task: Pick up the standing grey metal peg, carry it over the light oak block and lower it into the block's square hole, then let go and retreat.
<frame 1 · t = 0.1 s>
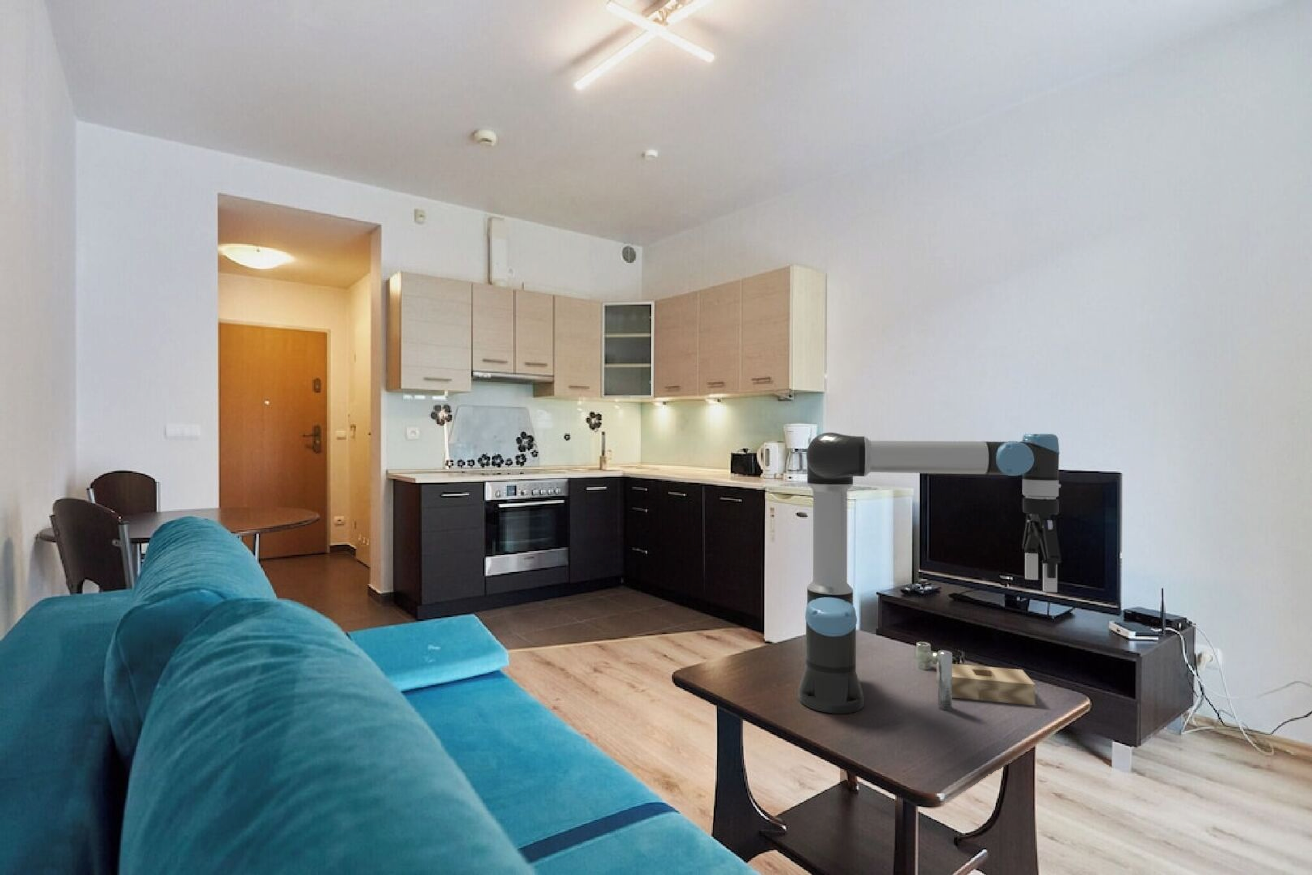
hand: (1040, 585, 153), 28 cm above the table, fingers open, 13 cm apart
peg: (944, 707, 149), on the table
valve: (938, 671, 173), on the table
hole block: (983, 692, 158), on the table
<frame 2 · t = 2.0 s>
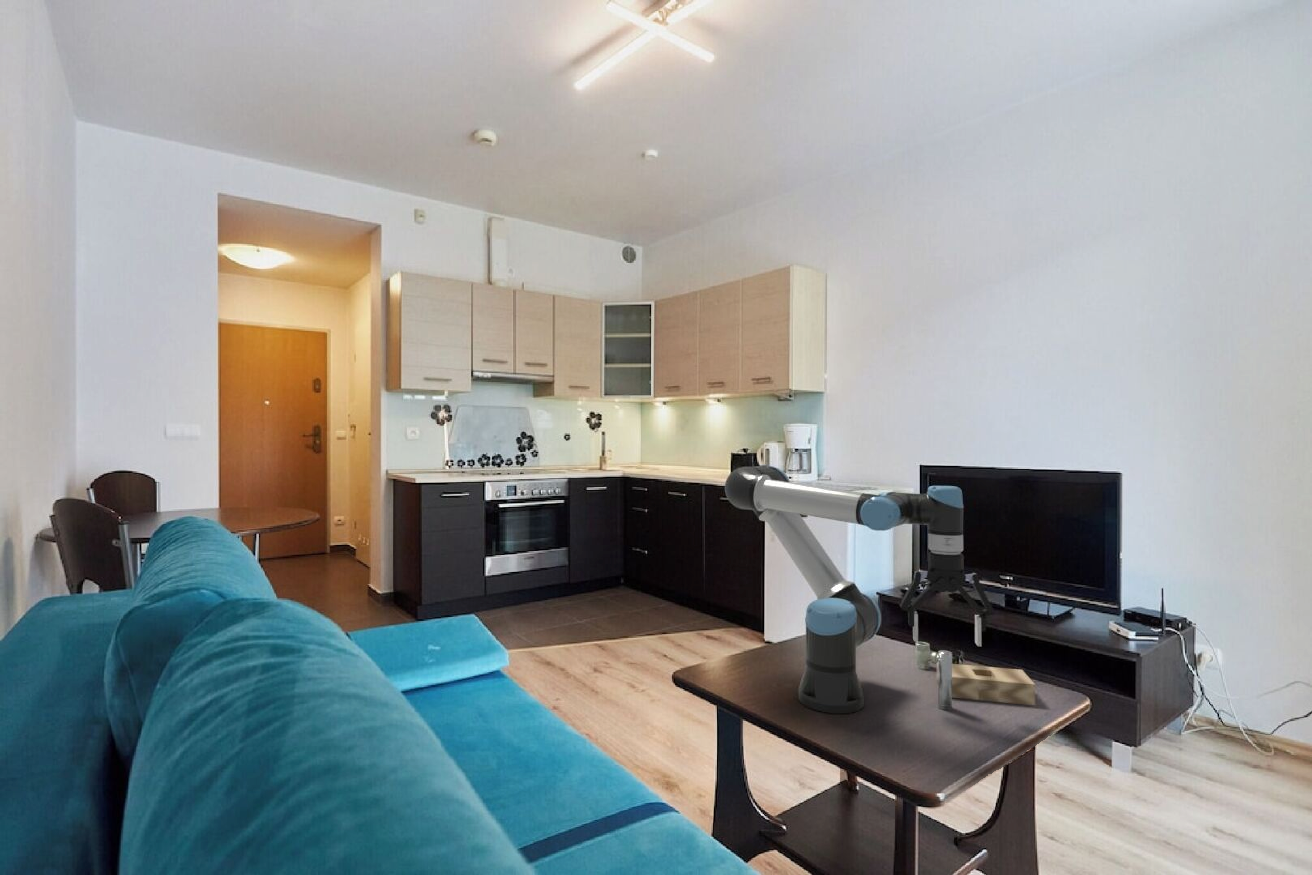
hand: (946, 642, 149), 15 cm above the table, fingers open, 13 cm apart
nothing on the table moved.
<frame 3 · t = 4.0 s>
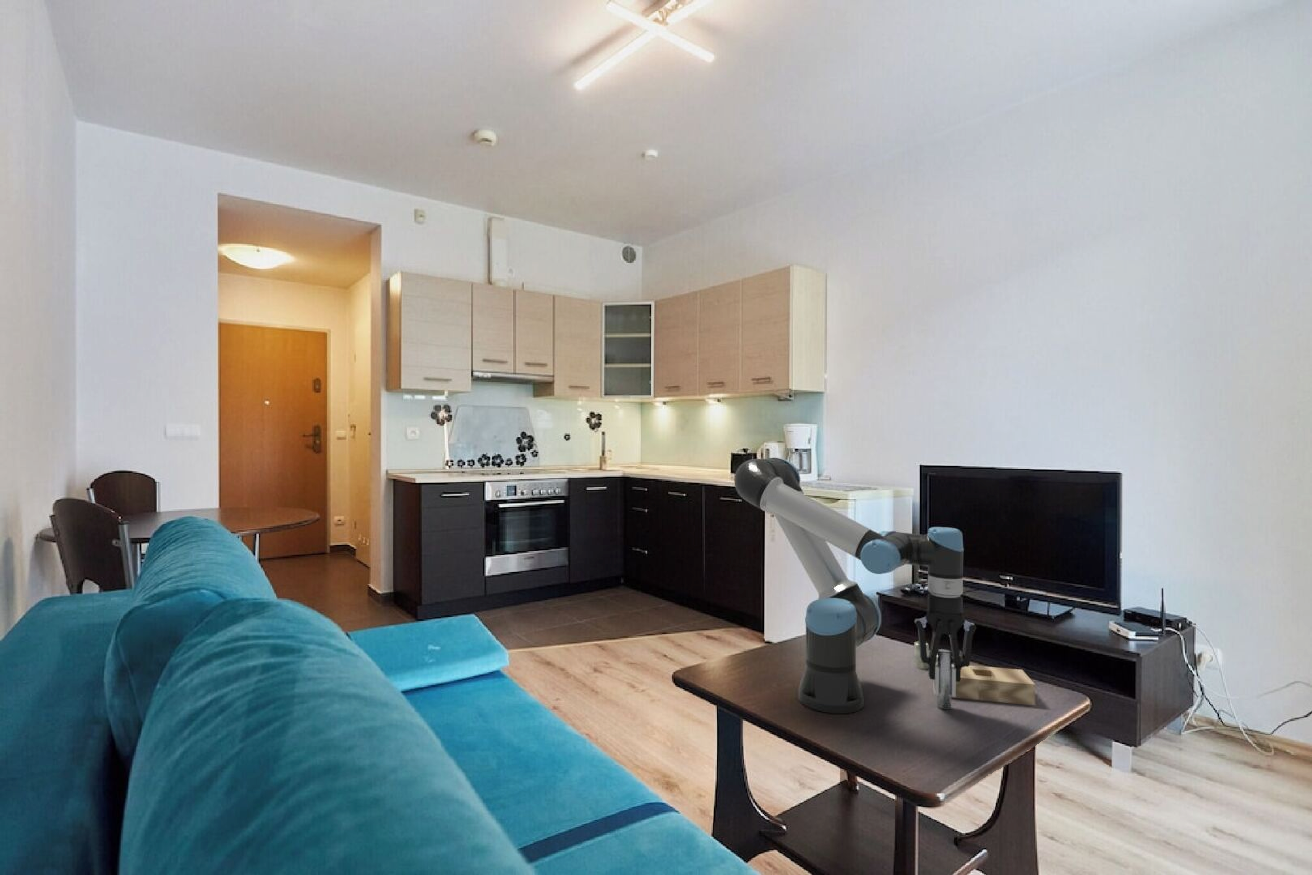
hand: (944, 693, 149), 3 cm above the table, fingers closed on peg, 3 cm apart
peg: (944, 706, 149), on the table, touching gripper
everything else where it was.
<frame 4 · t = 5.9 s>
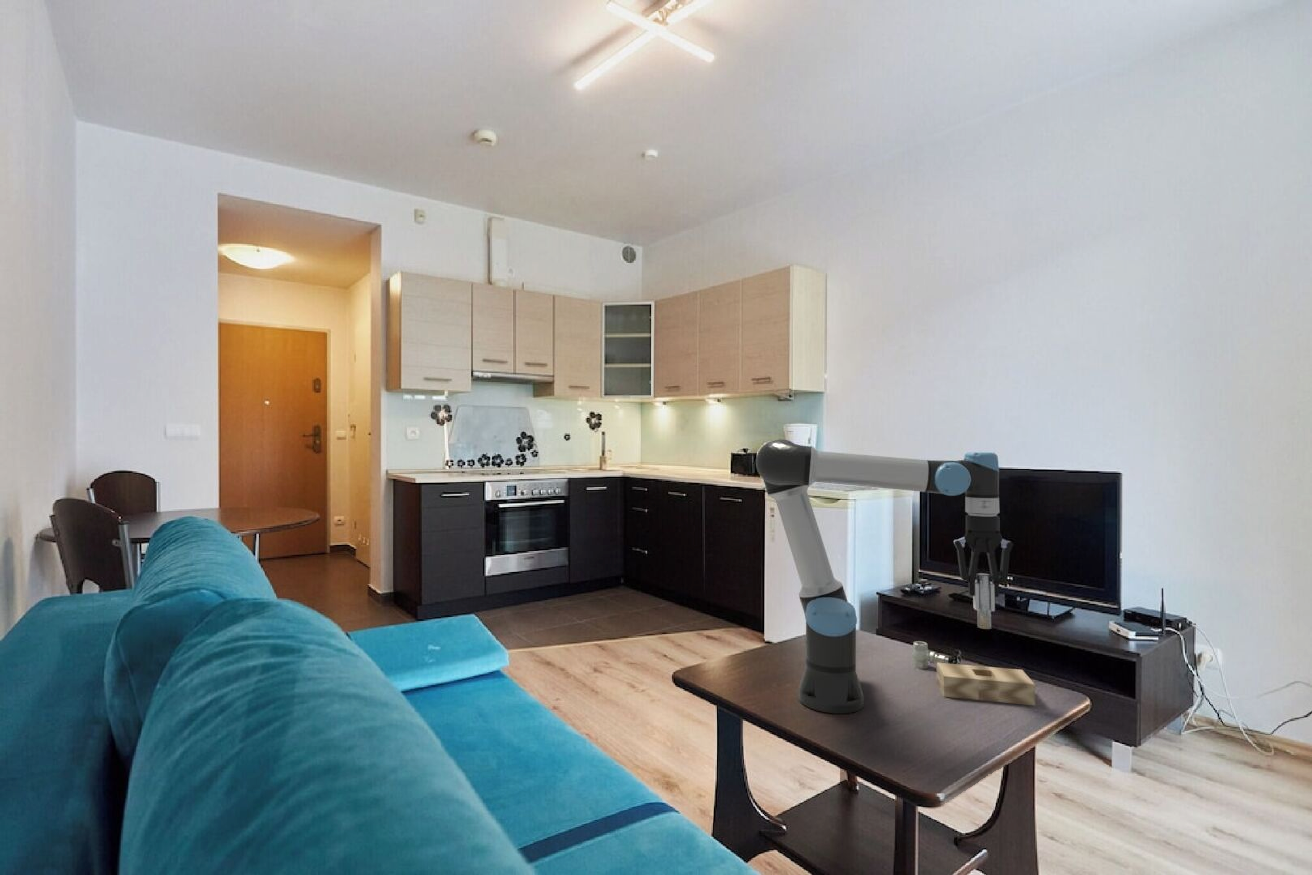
hand: (983, 609, 157), 21 cm above the table, fingers closed on peg, 3 cm apart
peg: (984, 627, 157), point 17 cm above the table, touching gripper
everything else where it was.
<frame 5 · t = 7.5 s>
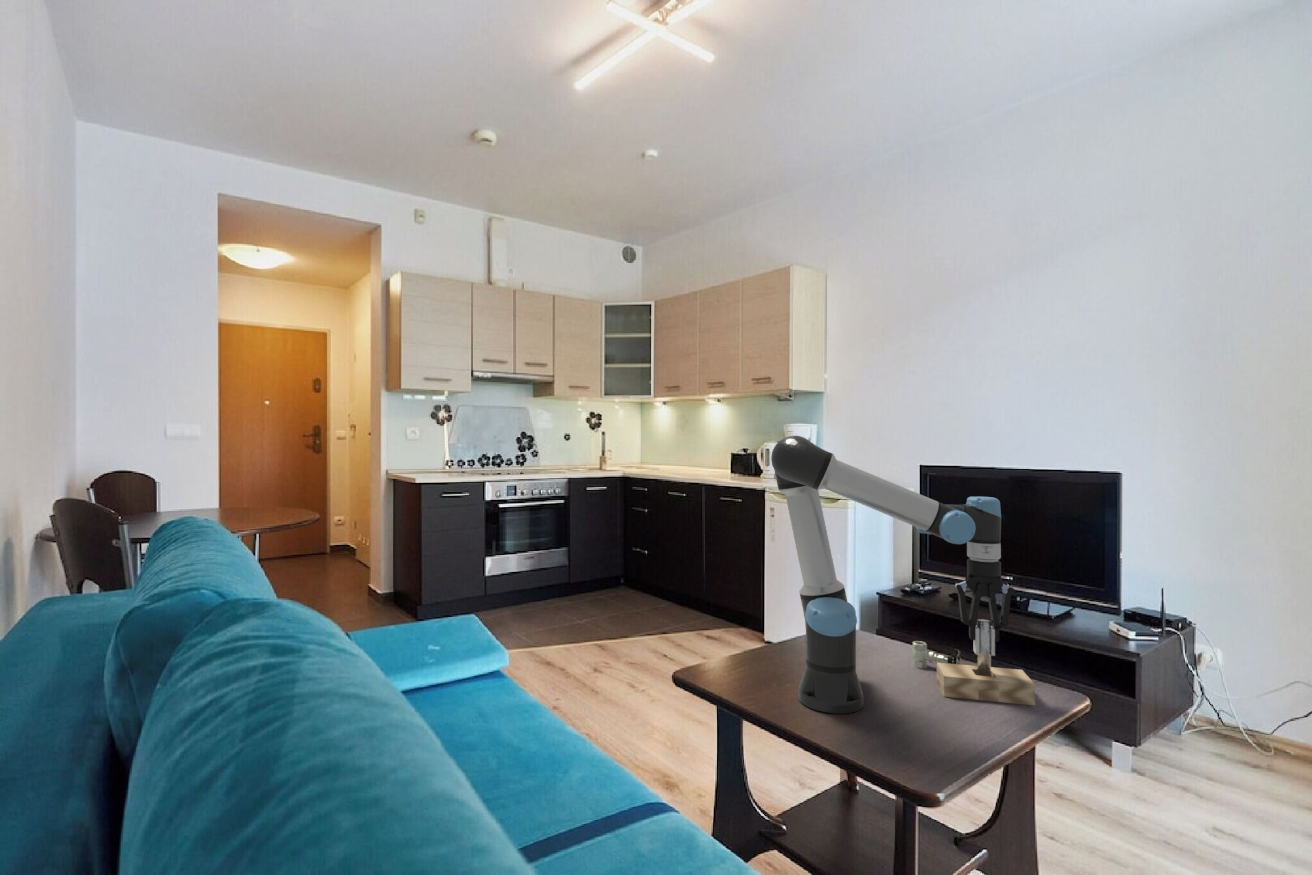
hand: (984, 653, 158), 10 cm above the table, fingers closed on peg, 3 cm apart
peg: (984, 673, 158), point 5 cm above the table, touching gripper
when the fingers open (6 cm above the table, at t = 8.4 s): peg drops 1 cm, resting in hole block.
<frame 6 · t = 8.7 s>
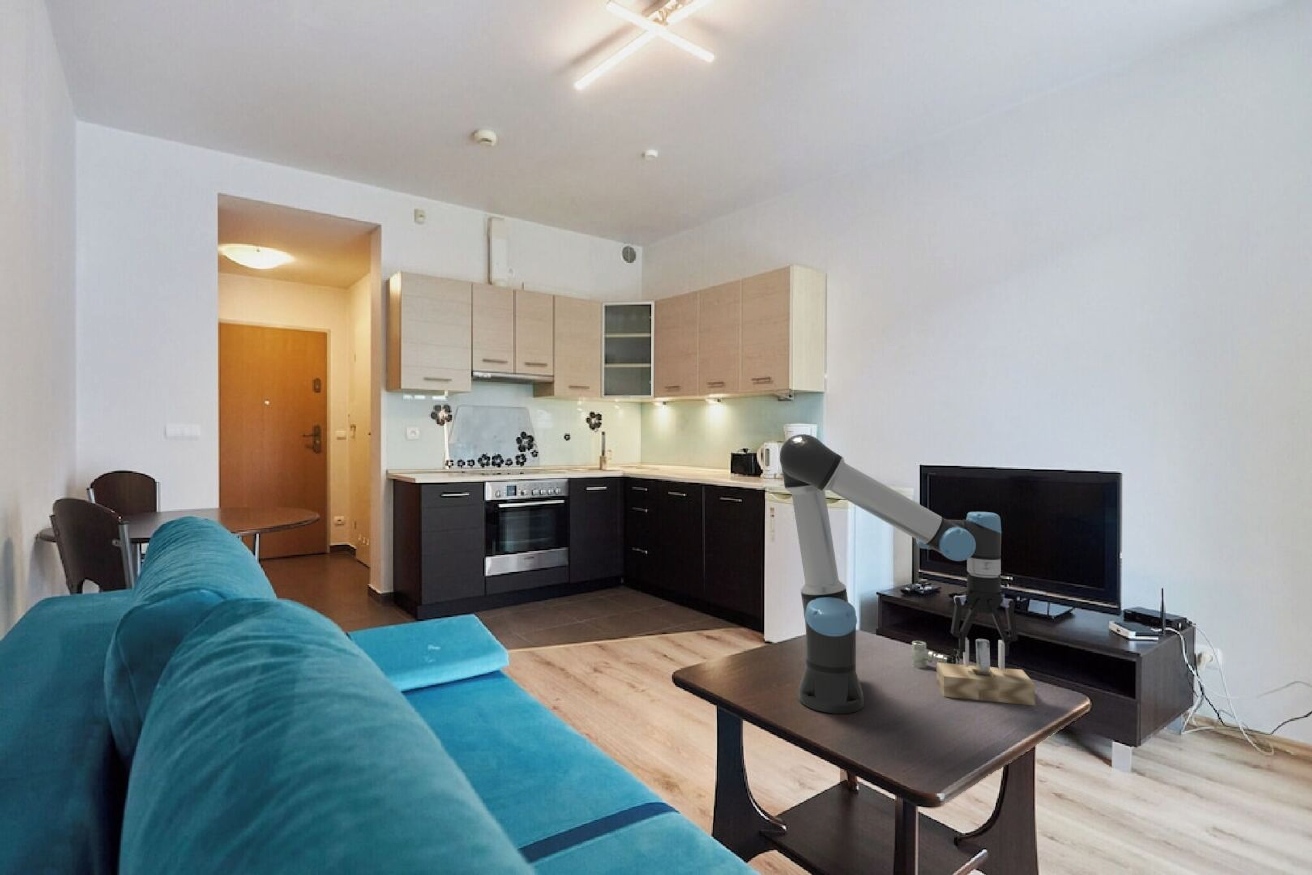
hand: (983, 666, 158), 7 cm above the table, fingers open, 7 cm apart
peg: (984, 692, 158), resting in hole block
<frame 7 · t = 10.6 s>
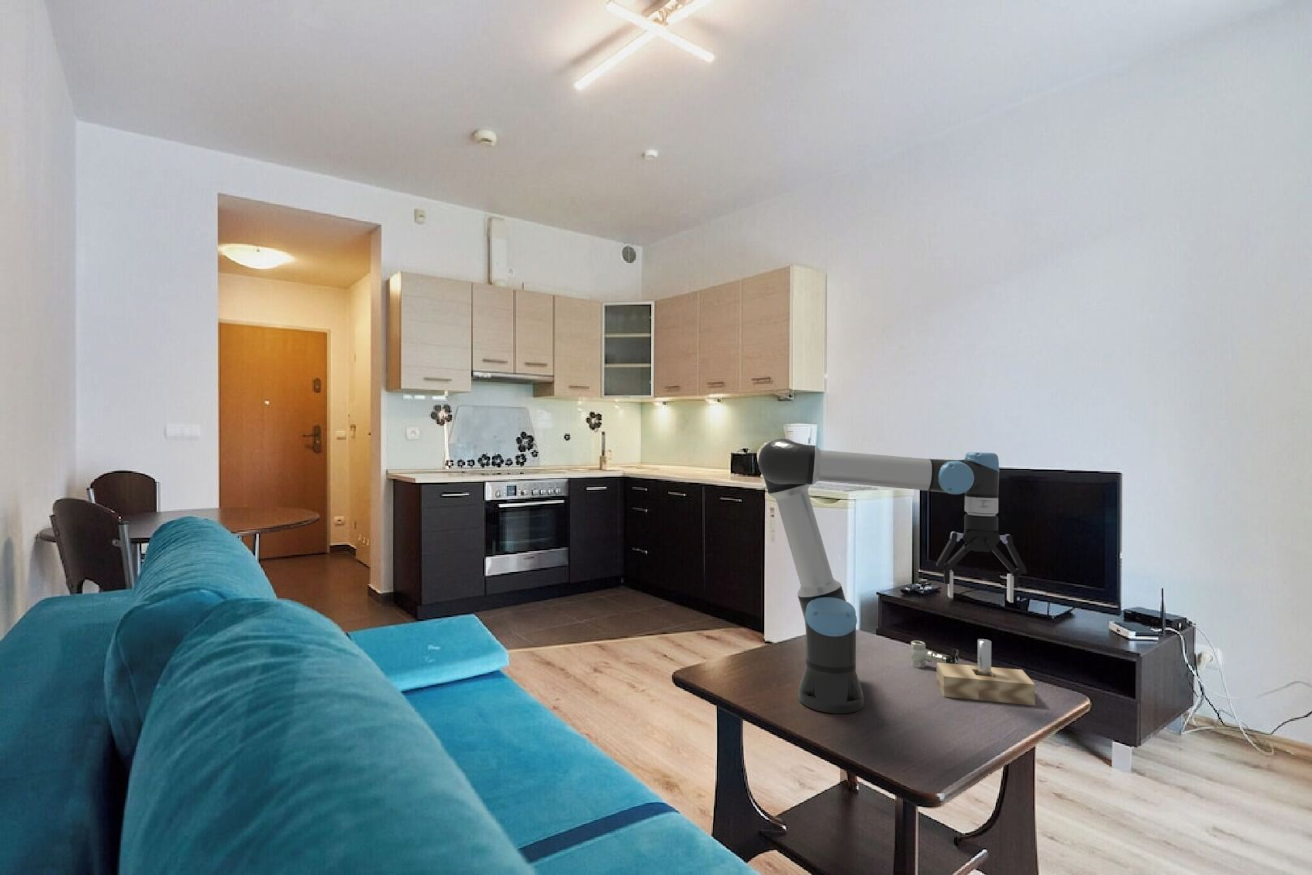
hand: (979, 599, 158), 23 cm above the table, fingers open, 13 cm apart
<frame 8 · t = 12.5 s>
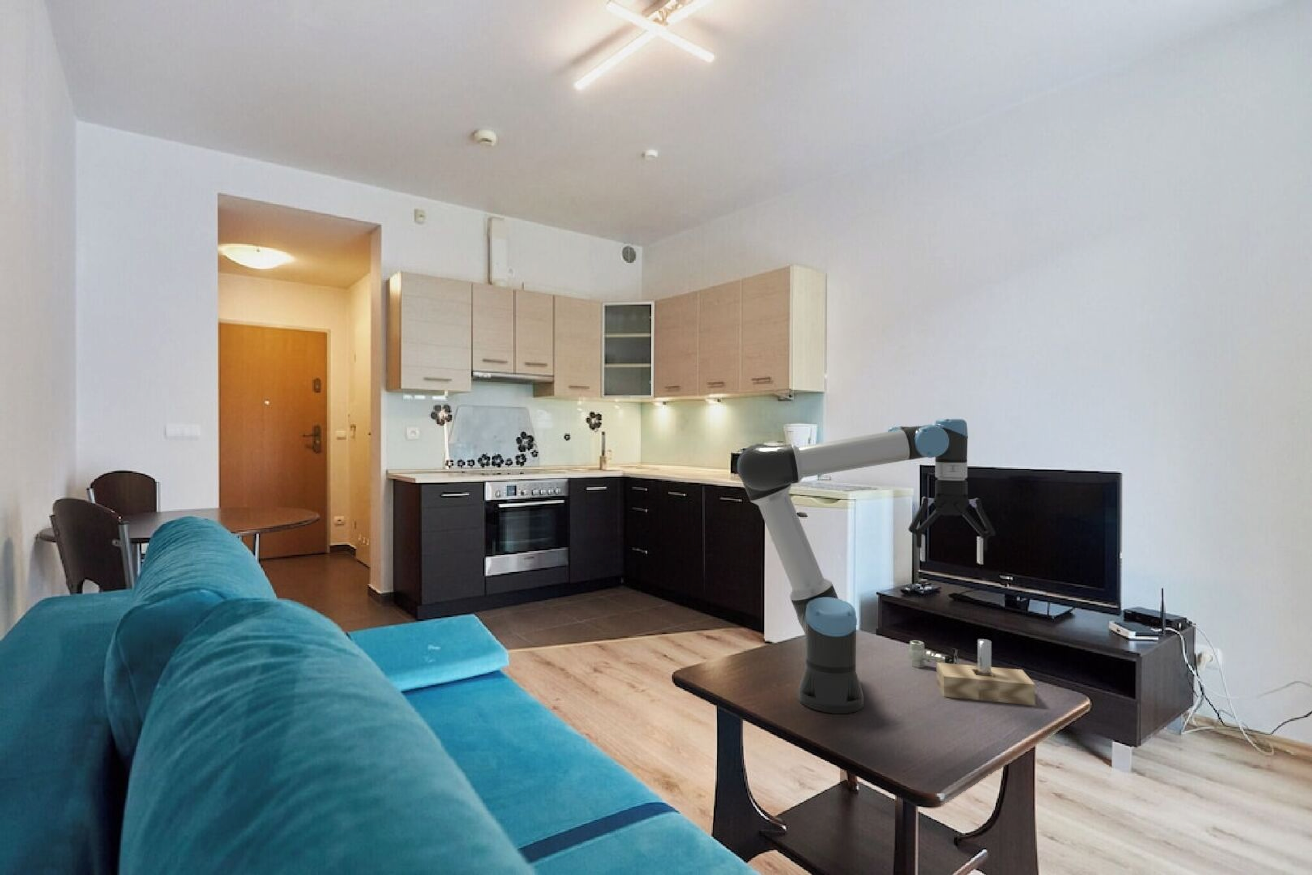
hand: (950, 561, 163), 32 cm above the table, fingers open, 13 cm apart
at the end: peg 0.2 cm off-centre on the hole block, point 0.0 cm above the hole block's base; peg tilted 0°; the gripper is holding nothing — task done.
